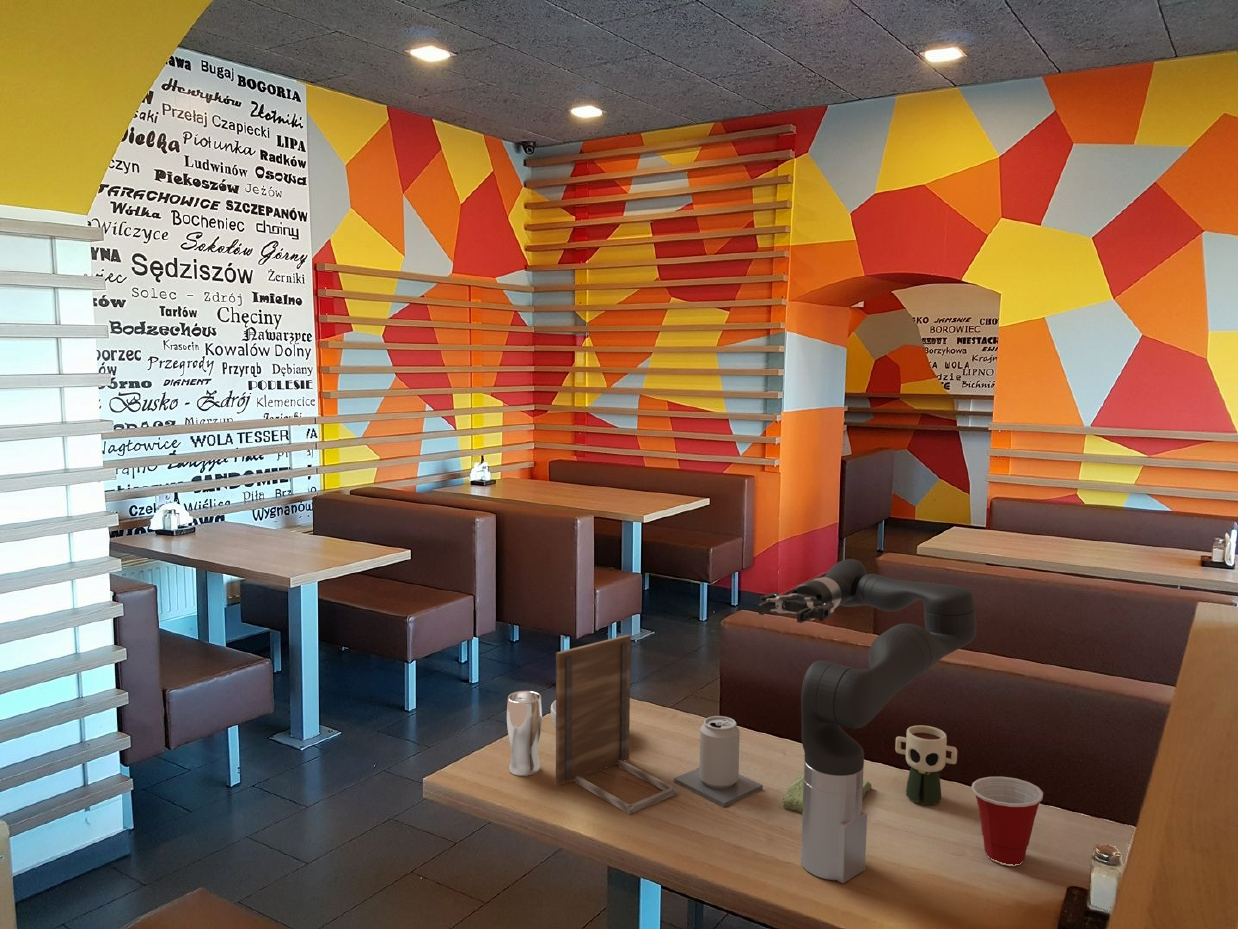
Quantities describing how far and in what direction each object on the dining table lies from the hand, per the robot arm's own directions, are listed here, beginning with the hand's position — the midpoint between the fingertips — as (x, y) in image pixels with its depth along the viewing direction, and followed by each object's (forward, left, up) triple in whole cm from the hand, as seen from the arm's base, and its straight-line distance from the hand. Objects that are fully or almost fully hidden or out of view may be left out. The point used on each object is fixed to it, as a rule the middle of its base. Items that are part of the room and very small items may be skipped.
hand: (779, 613), depth 174 cm
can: (+3, +13, -31) cm, 34 cm away
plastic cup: (-45, -4, -32) cm, 55 cm away
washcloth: (-13, +2, -33) cm, 35 cm away
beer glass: (+32, +38, -32) cm, 59 cm away
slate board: (+3, +14, -32) cm, 35 cm away
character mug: (-26, -12, -32) cm, 43 cm away
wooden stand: (+13, +28, -32) cm, 45 cm away
